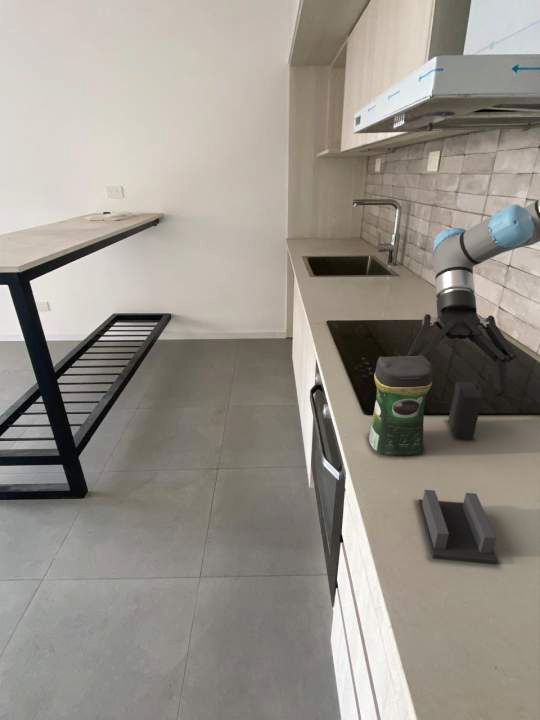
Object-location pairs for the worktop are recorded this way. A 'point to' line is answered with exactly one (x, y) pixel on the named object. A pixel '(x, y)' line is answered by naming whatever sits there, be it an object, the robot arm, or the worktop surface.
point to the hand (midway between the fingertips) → (463, 393)
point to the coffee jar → (400, 405)
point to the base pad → (457, 529)
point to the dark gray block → (464, 410)
